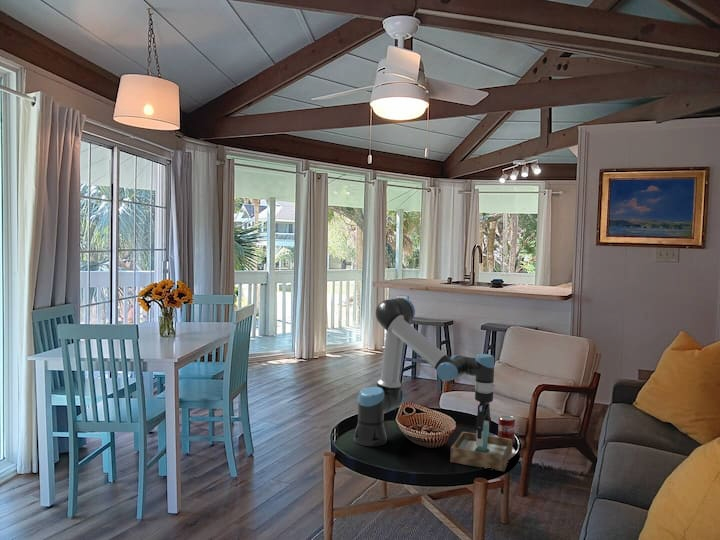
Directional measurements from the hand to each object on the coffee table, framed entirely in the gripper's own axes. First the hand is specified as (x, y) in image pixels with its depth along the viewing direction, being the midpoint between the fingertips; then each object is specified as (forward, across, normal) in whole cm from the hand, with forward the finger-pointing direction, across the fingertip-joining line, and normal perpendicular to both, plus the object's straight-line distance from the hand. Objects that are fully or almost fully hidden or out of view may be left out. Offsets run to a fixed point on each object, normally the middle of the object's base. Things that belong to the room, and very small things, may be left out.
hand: (482, 440), depth 237 cm
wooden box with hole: (+7, 0, 0) cm, 7 cm away
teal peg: (+7, 0, 0) cm, 7 cm away
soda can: (+7, +21, -7) cm, 23 cm away
